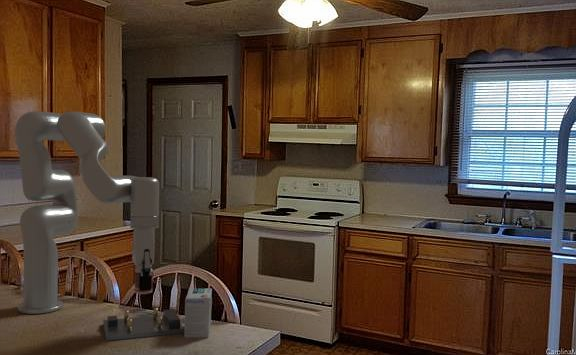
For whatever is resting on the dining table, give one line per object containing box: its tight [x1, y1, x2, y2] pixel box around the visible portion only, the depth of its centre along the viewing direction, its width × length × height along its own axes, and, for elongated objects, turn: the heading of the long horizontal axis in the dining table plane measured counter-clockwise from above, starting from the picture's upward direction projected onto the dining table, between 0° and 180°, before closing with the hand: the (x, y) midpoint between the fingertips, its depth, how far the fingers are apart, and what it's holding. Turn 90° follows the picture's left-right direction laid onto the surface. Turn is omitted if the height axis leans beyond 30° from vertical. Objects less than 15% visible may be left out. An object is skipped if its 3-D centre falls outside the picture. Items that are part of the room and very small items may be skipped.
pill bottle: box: [134, 262, 154, 295], centre depth 146 cm, size 5×5×8 cm
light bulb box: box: [183, 287, 213, 339], centre depth 146 cm, size 11×7×11 cm, turn 5°
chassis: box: [102, 307, 185, 342], centre depth 147 cm, size 14×20×4 cm
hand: (143, 287), depth 146 cm, fingers closed on pill bottle, 4 cm apart
